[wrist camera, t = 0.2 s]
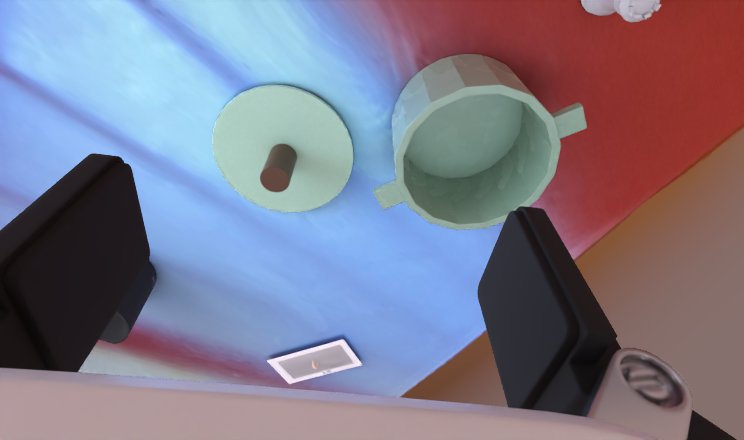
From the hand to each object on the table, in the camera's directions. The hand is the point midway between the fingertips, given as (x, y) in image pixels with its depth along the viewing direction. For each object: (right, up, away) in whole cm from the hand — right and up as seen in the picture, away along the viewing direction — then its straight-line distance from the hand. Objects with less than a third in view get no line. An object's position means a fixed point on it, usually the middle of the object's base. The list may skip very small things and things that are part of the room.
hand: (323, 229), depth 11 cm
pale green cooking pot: (+11, +11, +38) cm, 41 cm away
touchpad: (-9, -24, +64) cm, 69 cm away
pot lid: (-9, +8, +39) cm, 41 cm away
